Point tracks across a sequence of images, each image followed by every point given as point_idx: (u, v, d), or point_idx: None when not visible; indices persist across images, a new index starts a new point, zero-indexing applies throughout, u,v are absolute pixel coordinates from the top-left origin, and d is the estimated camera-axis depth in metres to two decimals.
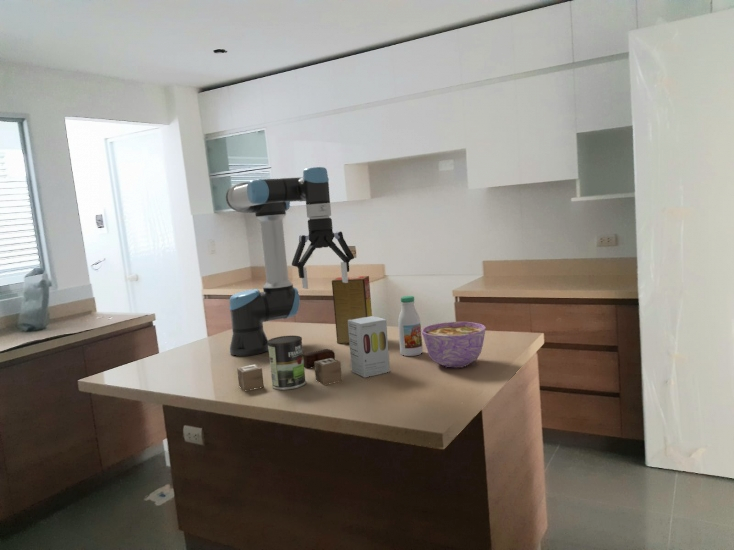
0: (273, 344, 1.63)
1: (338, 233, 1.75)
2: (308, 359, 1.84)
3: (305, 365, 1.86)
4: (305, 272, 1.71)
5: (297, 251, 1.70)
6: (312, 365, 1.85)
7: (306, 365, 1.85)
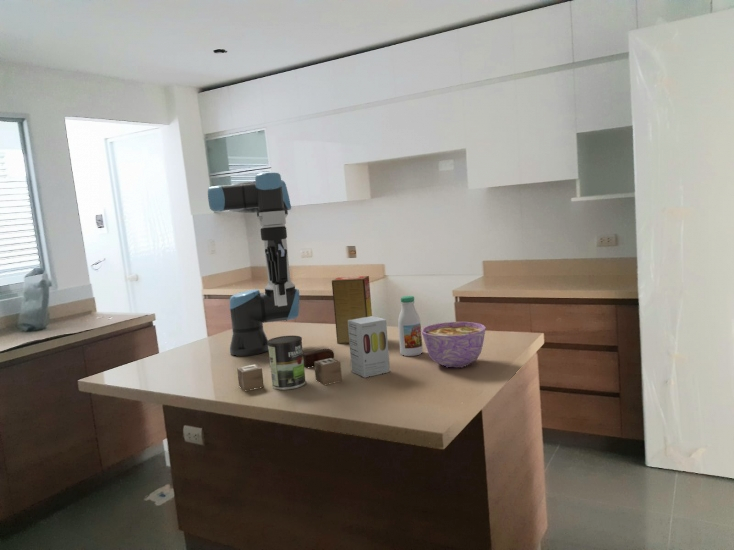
0: (273, 344, 1.63)
1: None
2: (307, 359, 1.85)
3: (304, 365, 1.86)
4: (273, 288, 1.66)
5: None
6: (311, 365, 1.86)
7: (305, 365, 1.86)
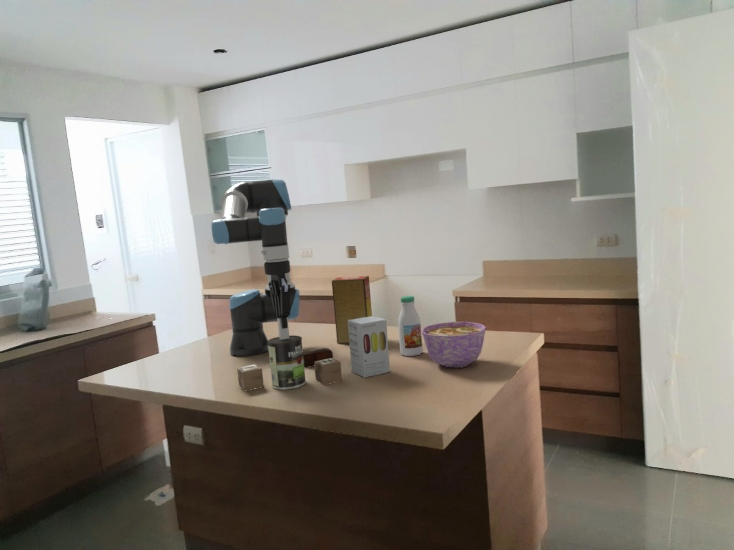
0: (273, 344, 1.63)
1: None
2: (305, 358, 1.86)
3: None
4: (278, 322, 1.66)
5: None
6: (310, 364, 1.87)
7: (304, 364, 1.86)
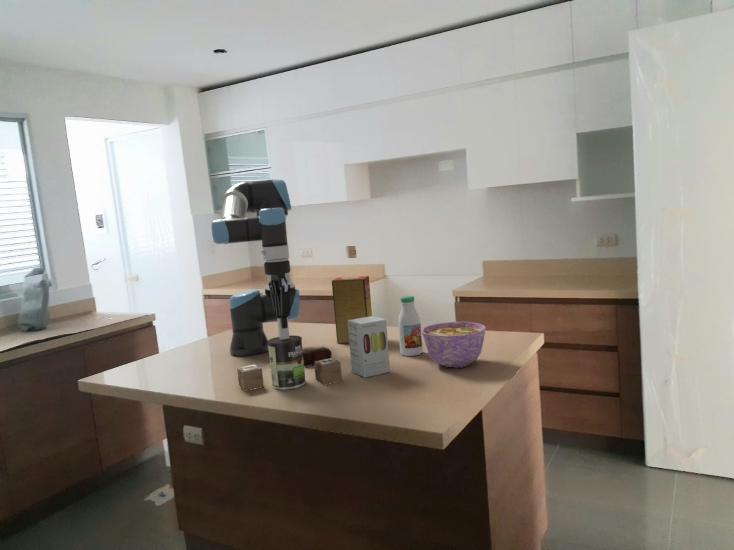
0: (273, 344, 1.63)
1: None
2: (304, 357, 1.87)
3: None
4: (278, 322, 1.66)
5: None
6: (308, 363, 1.88)
7: None
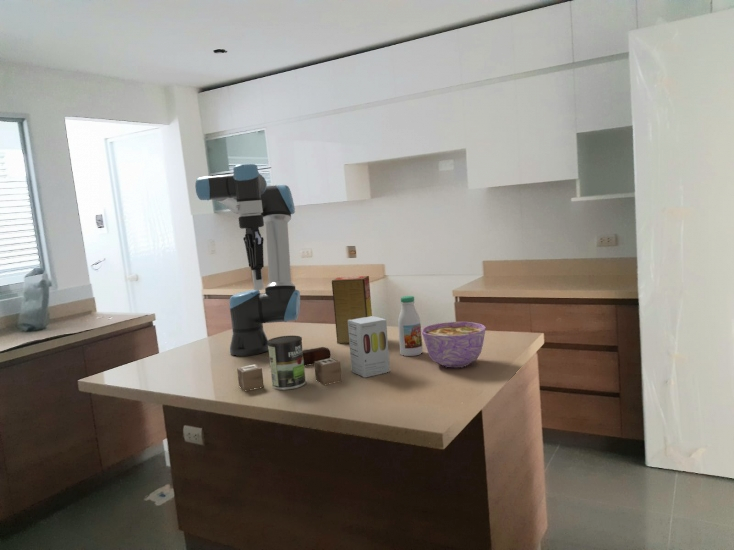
0: (273, 344, 1.63)
1: None
2: (303, 357, 1.88)
3: None
4: (252, 274, 1.75)
5: None
6: (307, 363, 1.89)
7: None
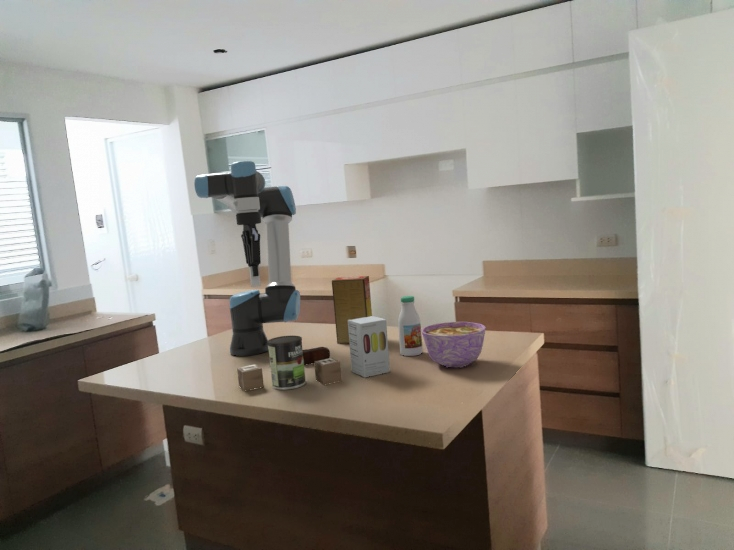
0: (273, 344, 1.63)
1: None
2: None
3: None
4: (249, 271, 1.76)
5: None
6: (306, 362, 1.89)
7: None
